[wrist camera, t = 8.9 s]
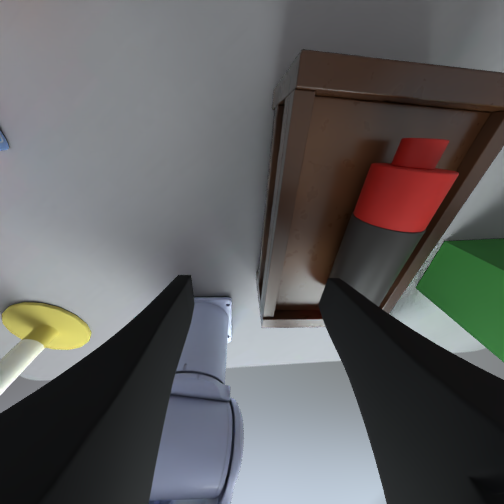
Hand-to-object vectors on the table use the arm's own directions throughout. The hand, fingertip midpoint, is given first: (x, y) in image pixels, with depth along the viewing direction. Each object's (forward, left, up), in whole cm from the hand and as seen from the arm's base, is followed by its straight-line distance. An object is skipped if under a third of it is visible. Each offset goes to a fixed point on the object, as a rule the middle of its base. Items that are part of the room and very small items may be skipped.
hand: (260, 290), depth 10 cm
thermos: (+1, -7, -4) cm, 8 cm away
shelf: (+1, -7, -10) cm, 13 cm away
